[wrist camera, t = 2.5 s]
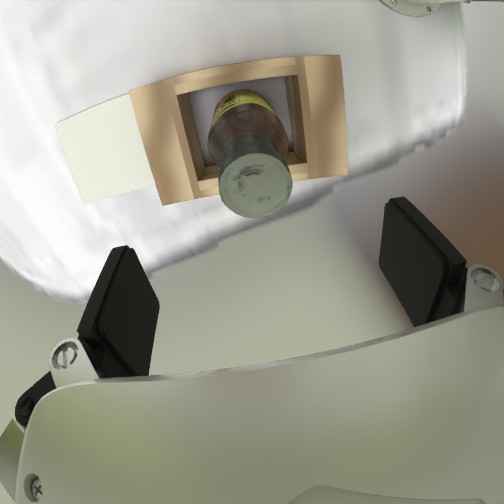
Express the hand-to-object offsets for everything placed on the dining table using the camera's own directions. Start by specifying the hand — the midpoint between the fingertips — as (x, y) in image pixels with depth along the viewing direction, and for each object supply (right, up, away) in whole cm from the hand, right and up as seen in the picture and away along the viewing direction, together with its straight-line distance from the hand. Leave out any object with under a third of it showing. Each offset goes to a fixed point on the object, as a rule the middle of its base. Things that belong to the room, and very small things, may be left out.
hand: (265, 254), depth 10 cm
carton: (-2, +16, +21) cm, 26 cm away
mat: (-18, +13, +21) cm, 31 cm away
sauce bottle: (-2, +16, +21) cm, 26 cm away
